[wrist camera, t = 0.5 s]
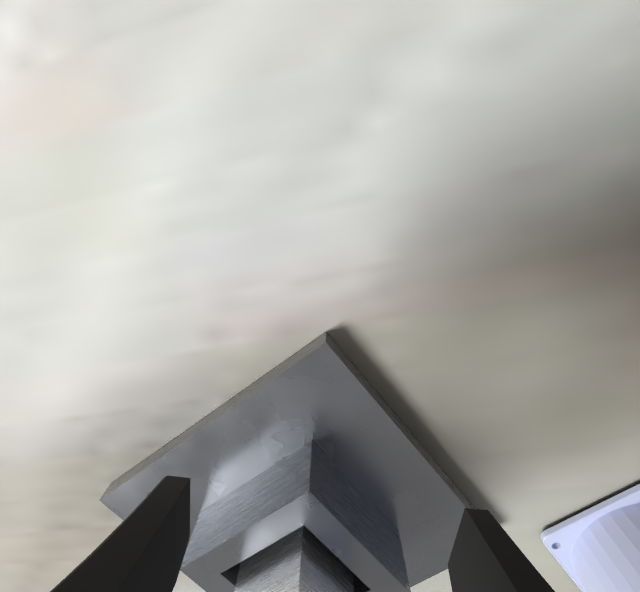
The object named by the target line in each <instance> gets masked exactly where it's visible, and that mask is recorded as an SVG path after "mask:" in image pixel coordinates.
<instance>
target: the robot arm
mask: <svg viewBox="0 0 640 592" xmlns="http://www.w3.org/2000/svg"><path fill="white" fill-rule="evenodd" d="M189 538H190V478H186V477H177V476H166V477H164V478H163V479H162V480H161V481H160V482H159V483H158V484H157V486H156V487H155V488H154V489H153V490H152V491H151V492H150V493H149V494H148V496H147V497H146V498H145V499H144V500H143V501H142V502H141V503H140V504H139V505H138V506H137V508H136V509H135V510H134V511H133V512H132V513H131V514H130V515H129V516H128V517H127V518H126V519H125V520H124V521H123V522H122V523H121V524H120V525H119V526H118V527H117V528H116V529H115V530H114V531H113V532H112V533H111V534H110V535H109V536H108V537H107V538H106V539H105V540H104V541H103V542H102V543H101V544H100V545H99V546H98V547H97V548H96V549H95V550H94V551H93V552H92V553H91V554H90V555H89V556H88V557H87V558H86V559H85V560H84V561H83V562H82V563H81V564H80V565H79V566H77V567H76V568H75V569H74V570H73V571H72V572H71V573H70V574H69V575H68V576H67V577H66V578H65V579H63V580H62V581H61V582H60V583H59V584H58V585H57V586H56V587H55V588H54V589H53V590H51V591H50V592H172V591H173V588H174V586H175V583H176V580H177V577H178V574H179V571H180V568H181V565H182V561H183V558H184V555H185V551H186V548H187V545H188V541H189ZM540 538H541V540H542V541H543V543H544V545H545V546H546V547H547V548H548V550H549V551H550V552H551V553H552V555H553V556H554V557H555V558H556V560H557V561H558V562H559V563H560V565H561V566H562V567H563V568H564V570H565V571H566V572H567V573H568V575H569V576H570V577H571V578H572V580H573V581H574V582H575V583H576V585H577V586H578V587H579V588H580V590H581V591H582V592H640V484H638V485H636V486H634V487H632V488H630V489H628V490H626V491H623V492H621V493H619V494H617V495H615V496H613V497H611V498H609V499H607V500H605V501H603V502H601V503H599V504H597V505H595V506H593V507H591V508H589V509H587V510H585V511H583V512H581V513H579V514H577V515H575V516H573V517H571V518H569V519H567V520H565V521H563V522H561V523H559V524H557V525H555V526H553V527H550V528H548V529H546V530H545V531H543V532H542V533H541V536H540ZM448 569H449V575H450V580H451V586H452V591H453V592H555V591H554V590H553V589H552V588H551V587H550V585H549V584H548V583H547V582H546V581H545V579H544V578H543V577H542V576H541V575H540V573H539V572H538V571H537V570H536V569H535V567H534V566H533V565H532V564H531V563H530V561H529V560H528V559H527V558H526V557H525V555H524V554H523V553H522V552H521V550H520V549H519V548H518V547H517V546H516V544H515V543H514V542H513V541H512V539H511V538H510V537H509V536H508V534H507V533H506V532H505V531H504V529H503V528H502V527H501V526H500V525H499V523H498V522H497V521H496V520H495V518H494V517H493V516H492V515H491V514H490V512H489V511H488V510H479V509H470V508H465V509H464V512H463V515H462V519H461V522H460V525H459V529H458V532H457V535H456V538H455V542H454V545H453V548H452V551H451V555H450V558H449V561H448Z"/></svg>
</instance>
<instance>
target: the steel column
mask: <svg viewBox="0 0 640 592" xmlns="http://www.w3.org/2000/svg"><path fill="white" fill-rule="evenodd" d="M234 592H354V586H353V572H352V571H351V570H350V569H349V568H348V567H347V566H346V565H345V564H344V563H343V562H342V561H341V560H340V559H339V558H338V557H337V556H335V555H334V554H333V553H332V552H331V551H330V550H329V549H328V548H327V547H326V546H325V545H324V544H323V543H322V542H321V541H320V540H319V539H318V538H317V537H316V536H315V535H314V534H313V533H312V532H311V531H310V530H309V529H308V528H307V527H306V526H304V525H303V526H302V527H300V528H298V529H297V530H295V531H293V532H291V533H290V534H288V535H286V536H284V537H283V538H281V539H279V540H278V541H276V542H274V543H272V544H271V545H269V546H267V547H266V548H264V549H262V550H260V551H259V552H257V553H255V554H253V555H252V556H250V557H248V558H247V559H245V560H243V561H241V563H240V568H239V572H238V577H237V581H236V586H235V591H234Z"/></svg>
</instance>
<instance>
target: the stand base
mask: <svg viewBox="0 0 640 592" xmlns="http://www.w3.org/2000/svg"><path fill="white" fill-rule="evenodd" d="M166 476H177V477H186V478H190V538H189V541H188V545H187V548H186V551H185V555H184V558H183V561H182V565H181V568H180V570H181V571H182V572H183V573H184V574H185V575H187V576H188V577H189V578H190V579H192V580H193V581H194V582H195V583H196V584H198V585H199V586H200V587H201V588H203V589H204V590H205V591H206V592H234V591H235V586H236V581H237V577H238V572H239V568H240V563H241V561H243V560H245V559H247V558H248V557H250V556H252V555H253V554H255V553H257V552H259V551H260V550H262V549H264V548H266V547H267V546H269V545H271V544H272V543H274V542H276V541H278V540H279V539H281V538H283V537H284V536H286V535H288V534H290V533H291V532H293V531H295V530H297V529H298V528H300V527H302V526H303V525H304V526H306V527H307V528H308V529H309V530H310V531H311V532H312V533H313V534H314V535H315V536H316V537H317V538H318V539H319V540H320V541H321V542H322V543H323V544H324V545H325V546H326V547H327V548H328V549H329V550H330V551H331V552H332V553H333V554H334V555H335V556H337V557H338V558H339V559H340V560H341V561H342V562H343V563H344V564H345V565H346V566H347V567H348V568H349V569H350V570H351V571H352V572H353V586H354V592H411V591H410V587H412V586H414V585H416V584H418V583H420V582H422V581H424V580H426V579H428V578H430V577H432V576H434V575H436V574H438V573H440V572H442V571H444V570H446V569H448V561H449V558H450V555H451V551H452V548H453V545H454V542H455V538H456V535H457V532H458V529H459V525H460V522H461V519H462V515H463V512H464V509H465V508H470V509H475V508H474V507H473V506H472V505H471V504H470V502H469V501H468V500H467V499H466V498H465V496H464V495H463V494H462V493H461V492H460V490H459V489H458V488H457V487H456V486H455V485H454V483H453V482H452V481H451V480H450V479H449V477H448V476H447V475H446V474H445V473H444V471H443V470H442V469H441V468H440V467H439V466H438V464H437V463H436V462H435V461H434V460H433V458H432V457H431V456H430V455H429V454H428V453H427V451H426V450H425V449H424V448H423V447H422V445H421V444H420V443H419V442H418V441H417V439H416V438H415V437H414V436H413V435H412V434H411V432H410V431H409V430H408V429H407V428H406V426H405V425H404V424H403V423H402V422H401V420H400V419H399V418H398V417H397V416H396V415H395V413H394V412H393V411H392V410H391V409H390V407H389V406H388V405H387V404H386V403H385V401H384V400H383V399H382V398H381V397H380V396H379V394H378V393H377V392H376V391H375V390H374V388H373V387H372V386H371V385H370V384H369V383H368V381H367V380H366V379H365V378H364V377H363V375H362V374H361V373H360V372H359V371H358V369H357V368H356V367H355V366H354V365H353V364H352V362H351V361H350V360H349V359H348V358H347V356H346V355H345V354H344V353H343V352H342V350H341V349H340V348H339V347H338V346H337V345H336V343H335V342H334V341H333V340H332V339H331V337H330V336H329V335H328V334H327V333H326V332H325V333H323V334H322V335H321V336H319V337H318V338H316V339H315V340H314V341H312V342H311V343H309V344H308V345H306V346H305V347H304V348H302V349H301V350H299V351H298V352H297V353H295V354H294V355H292V356H291V357H289V358H288V359H287V360H285V361H284V362H282V363H281V364H280V365H278V366H277V367H275V368H274V369H272V370H271V371H270V372H268V373H267V374H265V375H264V376H263V377H261V378H260V379H258V380H257V381H255V382H254V383H253V384H251V385H250V386H248V387H247V388H246V389H244V390H243V391H241V392H240V393H238V394H237V395H236V396H234V397H233V398H231V399H230V400H229V401H227V402H226V403H224V404H223V405H221V406H220V407H219V408H217V409H216V410H214V411H213V412H212V413H210V414H209V415H207V416H206V417H204V418H203V419H202V420H200V421H199V422H197V423H196V424H195V425H193V426H192V427H190V428H189V429H187V430H186V431H185V432H183V433H182V434H180V435H179V436H178V437H176V438H175V439H173V440H172V441H170V442H169V443H168V444H166V445H165V446H163V447H162V448H161V449H159V450H158V451H156V452H155V453H153V454H152V455H151V456H149V457H148V458H146V459H145V460H144V461H142V462H141V463H139V464H138V465H136V466H135V467H134V468H132V469H131V470H129V471H128V472H127V473H125V474H124V475H122V476H121V477H119V478H118V479H117V480H115V481H114V482H112V483H111V484H110V485H109V487H108V488H107V490H106V491H105V493H104V494H103V496H102V497H101V499H100V500H99V501H101V502H102V503H103V504H104V505H106V506H107V507H108V508H109V509H110V510H112V511H113V512H114V513H115V514H116V515H118V516H119V517H120V518H121V519H123V520H125V519H126V518H127V517H128V516H129V515H130V514H131V513H132V512H133V511H134V510H135V509H136V508H137V506H138V505H139V504H140V503H141V502H142V501H143V500H144V499H145V498H146V497H147V496H148V494H149V493H150V492H151V491H152V490H153V489H154V488H155V487H156V486H157V484H158V483H159V482H160V481H161V480H162V479H163V478H164V477H166Z"/></svg>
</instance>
